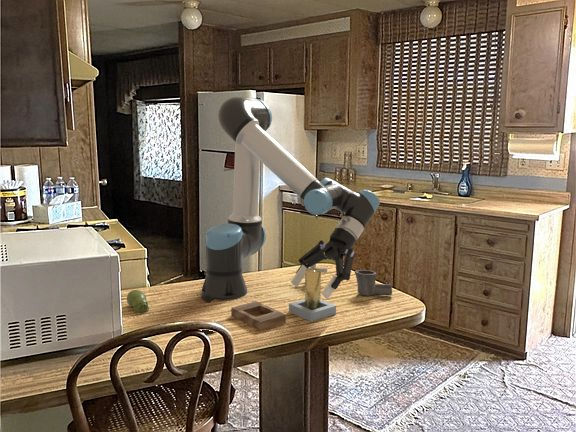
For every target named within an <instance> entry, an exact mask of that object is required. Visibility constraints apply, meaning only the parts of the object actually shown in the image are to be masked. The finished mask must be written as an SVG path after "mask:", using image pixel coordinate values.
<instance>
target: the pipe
mask: <svg viewBox="0 0 576 432" xmlns="http://www.w3.org/2000/svg"><path fill="white" fill-rule="evenodd" d="M354 274H355V277H356V283H357V293H358V295H360V296H364V297H369V296H392V295H393V284H391V283H376V277H377V272H376V271H374V270H367V269H356V270H355V271H354Z"/></svg>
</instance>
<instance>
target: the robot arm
mask: <svg viewBox="0 0 576 432" xmlns="http://www.w3.org/2000/svg"><path fill="white" fill-rule="evenodd" d="M217 114H218V115H217V116H218V117H217V118H218V123H219V125H220V127H221V129H222V130H223V131H224V132H225V134H226V135H228V137H229V138H230V139H231V140H232V141H233V142H234V146H235V148H234V168H233V169H234V171H233V195H232V196H233V197H232V213H231V214H230V215H229V216H228V217H227V223H221V224H216V225H213V226H211V227H210V228H209V229H207V231H206V233H205V243H204V244H205V259H206V261H205V262H206V265H205V266H206V267H205V268H206V269H205V270H206V274H205V278H204V281H203V285H202V287H201V291H200V293H201V294H200V295H201V299H202V300H203V301H204V302H207V303H212V302H213V301H215V300H216V301H217V300H218V301H230V300H231V301H232V300H236V299H240V298H242V297H245V296H247V294H248V288H247V285H246V281H245V279H244V276H243V260H244V259H246V258H247V257H250V256H252V255H254V254H256V253H257V252H258V251H260V250H261V249H262V248H263V247H264V245H265V243H266V238H267V233H266V229H265V228H264V226H263V224H262V220H263V219H262V217H261V216H260V215H259V214H258V213H259V212H258V211H259V209H258V208H259V194H260V193H259V190H260V189H259V188H260V168H261V163H262V164H263V165H264V166H265V167H267V169H269V171H271V172H272V173H273V174H274V175H275V176H276V177H277V178H279V179H280V181H282V183H284V184H285V186H286V187H288V188H289V189H290V190H291V191H292V192H293V193H295V195H296V196H298V198H300V199H301V200H302V201H303V205H304V208H305V210H306V211H307V212H308V213H309V214H311V215H313V216H314V215H316V216H319V215H324V214H327V213H328V212H329V211H332V210H333V209H335V210H337V211H339V212H341V213H342V214H344V215H343V216H342V218H341V219H340V221H339V222H338V224H337V225H336V228H334V230H333V231H332V232H331V234H330V235H329V241H328V242H327V243H326V242H324V240H322V239H321V240H320V241H318V243H317V244H316V245H315V246H314V247H312V248H311V249H310V250H309V251H307V252H306V253H304V255H302V256H301V257H300V258H298V262H299V263H300V266H299V267H298V269H297V271H296V272H295V275H294V277H292V279H291V281H290V283H291V284H292V285H293V286H294V287H296V288H298V287H299V286H300V284H301V282H302V281H303V279H305V278H304V277H305V270H306V269H308V268H310V267H311V266H313V265H314V264H316V265H317V264H318V263H320V262H322V261H324V260H332V261H333V262H335V275H332V277H331V278H330V280H329V282H328V283H327V285H326V286H325V288H324V290H323V291H322V292H321V295H322V296H323V297H324V298H325V299H326V300H329V299H330V297H331V296H332V294H333V293H334V290H337V289H338V287H339V286H340V285H341V283H342V282H343V281H350V279H351V273H352V267H353V261H354V258H355V257H356V252H355V251H354V250H353V247H354V246H355V244H356V242H357V240H359V237H360V236H361V234H362V233H363V232H364V231H365V228H366V227H367V225H368V224H369V222H371V220H372V218H373V217H374V215H375V213H376V211H377V209H378V208H379V206H380V203H381V201H380V199H379V197H378V195H376V194H375V193H374V192H373V191H370V190H368V189H362V190H360V191H359V192H355V191H354V190H351V189H350V188H349V187H346V186H344V185H343V184H340V183H339V182H338V181H336V180H334V179H331V178H329V177H323V178H322V179H321V180H320V181H319V179H318V178H317V177H316V176H314V174H312V173H311V172H310V171H309V170H307V168H305V167H304V166H303V165H302V164H301V162H299V161H298V160H297V159H296V158H295V157H293V155H292V154H290V153H289V152H288V151H287V150H286V149H284V148H283V146H282V145H281V144H279V143H278V142H277V141H276V140H275V139H274V138H273V137H271V135H270V134H269V133H267V130H269V128H270V127H271V124H272V122H273V114H272V111H271V108H270V107H269V105H268V104H267V103H266V102H265V101H263V100H262V99H259V98H257V97H255V98H254V97H242V96H241V97H239V96H233V97H230V98H228V99H225V101H224V102H223V103H222V104H221V105H220V106H219V109H218V113H217Z"/></svg>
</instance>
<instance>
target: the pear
mask: <svg viewBox="0 0 576 432" xmlns="http://www.w3.org/2000/svg"><path fill="white" fill-rule="evenodd" d="M126 302H127V304H128V306H130V307H131V308H133V311H134V313H136V314H143V313H147V312H149V302H148V301H147V296H146V294H145V293H144V292H143V291H141V290H139V289H133V290H131V291H129V292H128V293H127V295H126Z"/></svg>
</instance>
